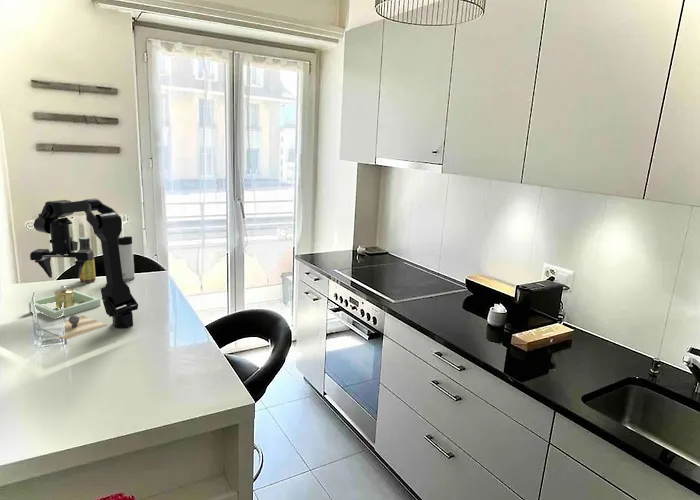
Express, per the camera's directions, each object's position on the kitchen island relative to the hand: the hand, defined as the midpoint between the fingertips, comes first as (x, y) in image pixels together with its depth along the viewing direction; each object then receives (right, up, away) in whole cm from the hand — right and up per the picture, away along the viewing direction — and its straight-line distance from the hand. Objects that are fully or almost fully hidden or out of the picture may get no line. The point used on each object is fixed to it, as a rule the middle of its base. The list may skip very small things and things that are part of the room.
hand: (64, 277), depth 164 cm
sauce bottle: (-12, -4, +35) cm, 37 cm away
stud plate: (+11, -17, -12) cm, 24 cm away
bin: (-1, -12, +3) cm, 13 cm away
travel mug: (+3, -3, +41) cm, 41 cm away
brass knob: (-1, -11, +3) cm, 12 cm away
